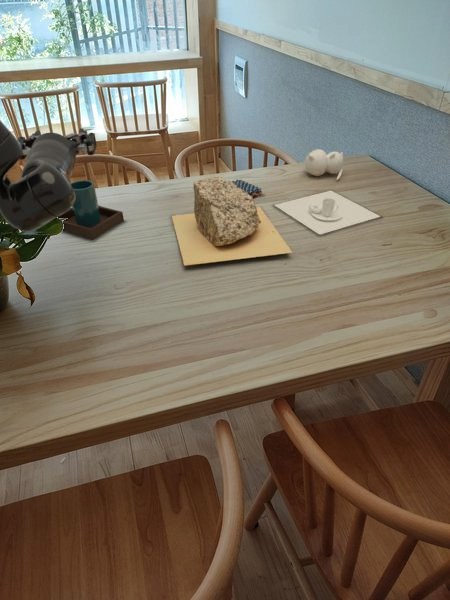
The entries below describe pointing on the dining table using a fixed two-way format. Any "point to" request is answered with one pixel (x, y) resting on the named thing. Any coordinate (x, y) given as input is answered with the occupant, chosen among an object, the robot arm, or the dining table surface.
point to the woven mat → (248, 188)
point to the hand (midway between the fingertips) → (61, 134)
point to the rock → (225, 226)
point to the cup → (85, 204)
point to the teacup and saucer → (326, 212)
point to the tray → (107, 222)
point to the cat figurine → (324, 163)
